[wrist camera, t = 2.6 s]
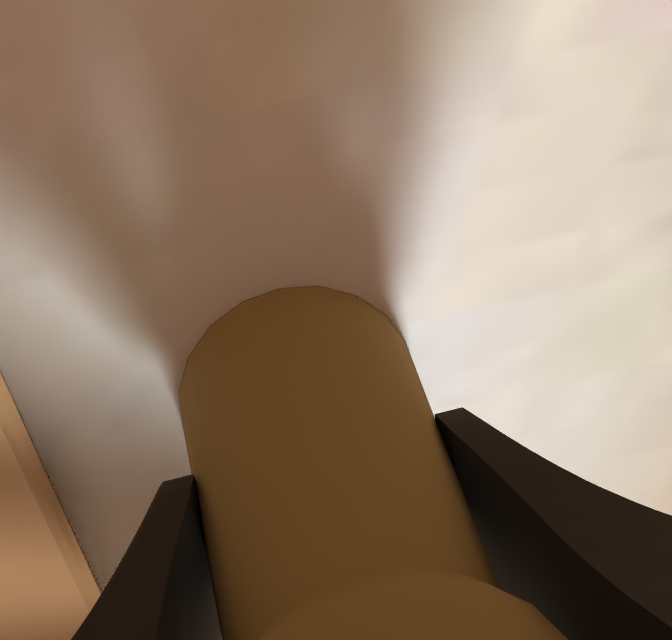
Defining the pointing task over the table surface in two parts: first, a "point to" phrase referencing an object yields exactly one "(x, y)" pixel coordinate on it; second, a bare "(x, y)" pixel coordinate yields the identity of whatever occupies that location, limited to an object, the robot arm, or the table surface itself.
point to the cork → (332, 483)
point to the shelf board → (36, 544)
